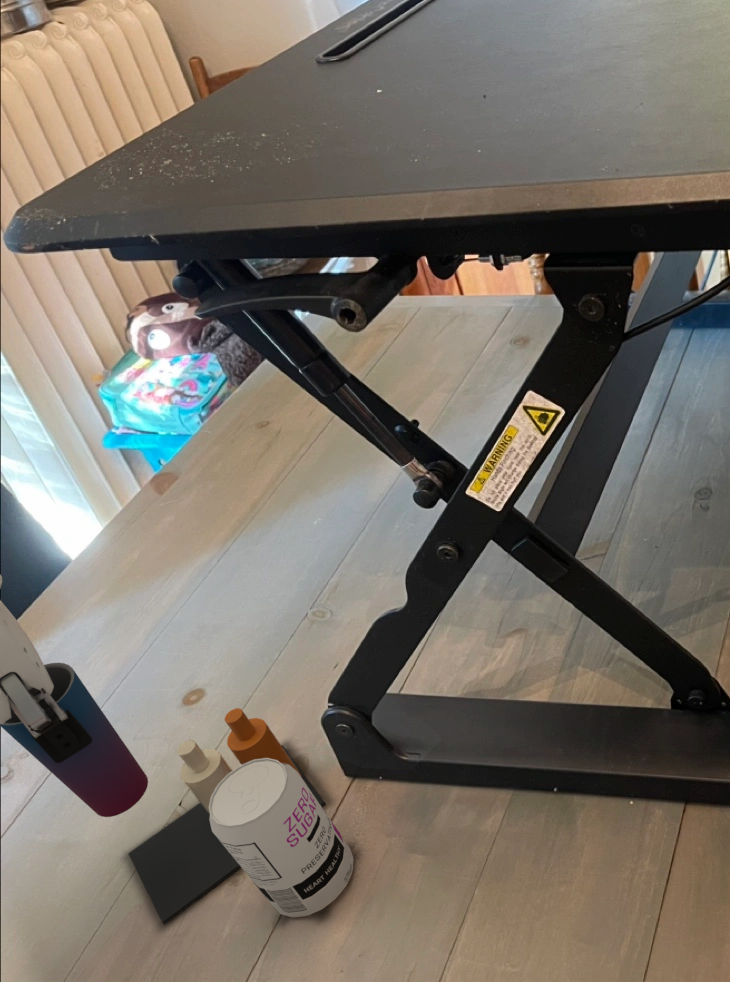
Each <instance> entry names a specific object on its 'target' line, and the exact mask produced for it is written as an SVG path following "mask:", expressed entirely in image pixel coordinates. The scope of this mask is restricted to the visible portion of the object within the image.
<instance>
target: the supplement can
mask: <svg viewBox="0 0 730 982" xmlns="http://www.w3.org/2000/svg"><path fill="white" fill-rule="evenodd" d="M232 770H233V771H231V772H230V773H228V774H227V776H226V777H225V778H224V779H223V780H222V781H221V782H220V783H219V784H218V785H217V787H216V789H215V790H214V792H213V794H212V795H211V799H210V804H209V811H210V819H209V820H210V825H211V829H212V832H213V833H214V834H215V836H216V837H217V838H218V839H219V841H220V842H221V843H222V844H223V845H224V847H225V848H226V849H227V850H228V852H229V853H230V854H231V855H232V857H233V858H234V859H235V860H236V861H237V863H238V864H239V865H240V866H241V868H240V869H242V870H243V871H244V873H245V874H246V875H247V877H248V878H249V879H250V880H251V881H252V883H253V884H254V885H255V886H256V888H257V889H258V890H259V891H260V892H261V894H262V895H263V896H264V897H265V899H266V900H267V901H268V902H269V903H270V905H271V906H272V907H273V908H274V909H275V910H276V911H277V912H278V913H279V914H280V915H283V916H285V917H290V918H300V917H307V916H311V915H312V914H315V913H317V912H319V911H322V910H324V909H325V908H326V907H327V906H329V905H330V904H331V903H332V902H334V901H335V900H337V898H338V897H339V895H340V894H341V893H342V892H343V891H344V889H345V888H346V887H347V885H348V882H349V881H350V878H351V876H352V874H353V872H354V860H355V859H354V856H353V853H352V849H351V847H350V846H349V844H348V843H347V841H346V840H345V839H344V837H343V836H342V835H341V833H340V831H339V830H338V829H337V827H336V825H335V824H334V823H333V821H332V820H331V818H330V817H329V815H328V814H327V812H326V811H325V809H324V808H323V807H321V805H320V804H319V802H318V801H317V800H316V798H315V797H314V795H313V794H312V792H311V791H310V789H309V788H308V786H307V785H306V783H305V782H304V781H303V779H302V778H301V776H300V775H299V773H298V772H297V771H296V770H295V769H294V768H292V767H291V766H290V765H288V764H284V763H280V762H279V761H278V760H274V759H270V758H262V759H255V760H252V761H249V762H247V763H244V764H242V765H241V764H240V765H238V766H237V767H236V768H234V769H232Z"/></svg>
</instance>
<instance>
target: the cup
mask: <svg viewBox="0 0 730 982" xmlns="http://www.w3.org/2000/svg"><path fill="white" fill-rule="evenodd" d="M44 666H45V668H46V670H47V672H48V674H49V676H50V679H51V681H52V683H53V685H54V688H53V691H52V693H51V695H52V696H53V697H54V698H55V700H56V701H57V702H58V704H59V705H60V706H61V708H62V709H63V710H64V711H67V710H69V711H70V712H71V713H72V715H73V716H74V717H75V718H76V719H77V720H78V722H79V723H80V724H81V725H82V726H83V727H84V729H85V730H86V731H87V732H88V733H89V735H90V736H91V738H92V742H91V744H89V745H88V746H86V747H85V748H83V749H81V750H80V751H78V752H77V753H75V754H74V755H72V756H71V757H69V758H68V759H66V760H64V761H63V762H61V763H55V762H54V761H53V759H52V758H51V757H50V756H49V755H48V754H47V753H46V752H45V751H44V750H43V748H42V747H41V746H40V745H39V744H38V743H37V742H36V741H35V740H34V739H33V737H32V736H31V734H30V732H29V730H28V729H27V728H26V726H25V725H24V724H23V723H22V721H21V720H20V719H19V718H18V716H17V715H16V714H15V713H14V711H13V710H12V709H11V708H10V710H11V717H12V718H10V719H8V720H7V721H6V722H5V723H3V724H0V727H1V728H2V729H3V730H4V731H5V732H6V733H7V734H8V735H9V736H11V737H12V738H13V739H14V740H15V741H16V742H17V743H18V744H19V745H20V746H22V748H24V749H25V750H26V751H27V752H28V753H29V754H30V755H32V756H33V757H34V758H35V759H36V760H37V761H38V762H39V763H40V764H42V766H44V767H45V768H46V769H47V770H48V771H49V772H50V773H51V774H53V775H54V776H55V777H56V778H57V779H58V780H59V781H60V782H61V783H63V784H64V785H65V787H67V788H68V789H69V790H70V791H71V792H72V793H73V794H74V795H76V796H77V798H79V800H81V801H82V802H83V803H84V804H86V806H88V807H89V808H90V809H91V810H92V811H93V812H94V813H95V814H97V816H99V817H102V818H111V817H116V816H118V815H121V814H123V813H125V812H127V811H128V810H130V809H132V808H133V807H134V806H135V805H136V804H137V803H138V802H139V801H140V800H141V799H142V797H143V796H144V795H145V793H146V792H147V789H148V786H149V779H148V776H147V774H146V773H145V771H144V770H143V769H142V767H141V765H140V764H139V763H138V761H137V759H136V758H135V757H134V755H133V754H132V753H131V751H130V750H129V748H128V746H127V745H126V743H125V742H124V741H123V739H122V738H121V737H120V735H119V733H118V732H117V731H116V729H115V728H114V727H113V725H112V724H111V722H110V720H109V719H108V718H107V716H106V714H105V713H104V712H103V710H102V709H101V708H100V706H99V704H98V703H97V702H96V700H95V699H94V697H93V696H92V694H91V693H90V691H89V690H88V689H87V687H86V686H85V684H84V683H83V682H82V680H81V678H80V677H79V676H78V674H77V673H76V671H75V669H74V668H73V667H72V666H70V665H69V664H67V663H64V662H51V663H46V664H44ZM29 691H30V693H31V694H32V695H34V694H35V693H37V692H38V691H40V690H38V689H35V688H32V689H31V690H29ZM38 704H39V705H40V707H41V708H42V709H43V710H45V711H46V710H47V709H50V710H52V709H51V708H50V706H49V705H48V704H47V702H46V701H45V700H42V701H40V702H39V703H38Z"/></svg>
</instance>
